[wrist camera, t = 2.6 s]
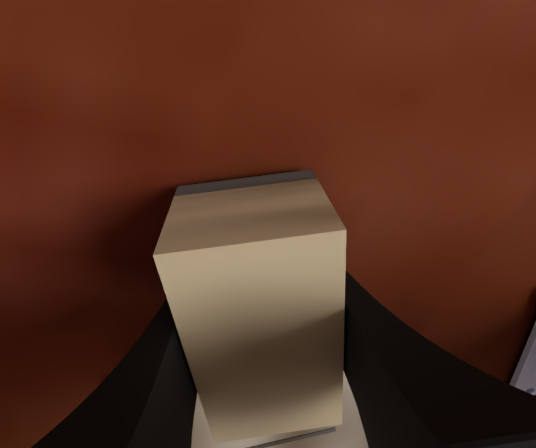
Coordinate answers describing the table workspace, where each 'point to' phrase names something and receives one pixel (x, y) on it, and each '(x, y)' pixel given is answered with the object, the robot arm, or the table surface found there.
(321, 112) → the table surface
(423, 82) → the table surface
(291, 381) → the block
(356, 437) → the birch board
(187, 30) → the table surface
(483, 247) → the table surface
